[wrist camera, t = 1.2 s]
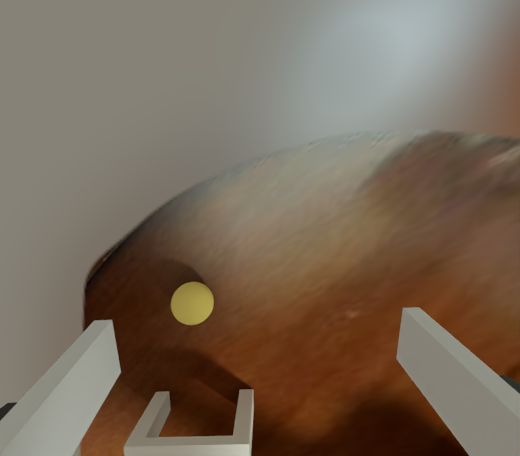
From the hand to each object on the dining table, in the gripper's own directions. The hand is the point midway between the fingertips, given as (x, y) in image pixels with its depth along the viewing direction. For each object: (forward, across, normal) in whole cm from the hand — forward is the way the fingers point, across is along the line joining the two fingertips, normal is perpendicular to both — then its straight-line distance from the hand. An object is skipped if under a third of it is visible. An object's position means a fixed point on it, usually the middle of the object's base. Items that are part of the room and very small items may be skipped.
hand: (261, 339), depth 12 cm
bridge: (+23, +8, +27) cm, 36 cm away
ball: (+23, +8, +11) cm, 26 cm away
